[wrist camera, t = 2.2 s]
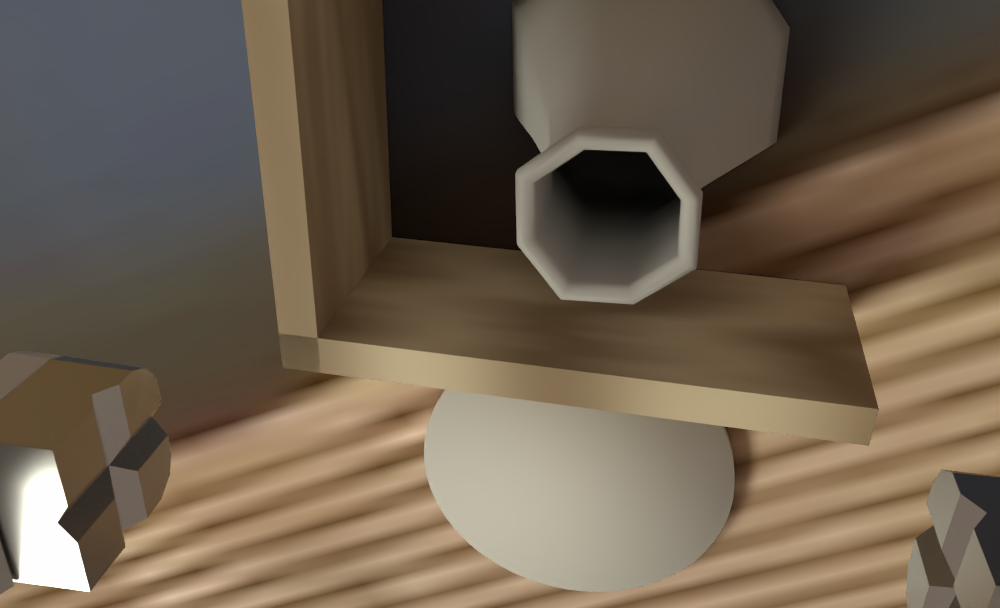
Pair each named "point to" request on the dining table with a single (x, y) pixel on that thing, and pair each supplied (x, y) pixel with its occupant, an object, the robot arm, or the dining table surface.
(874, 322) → the dining table surface
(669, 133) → the flask
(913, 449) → the dining table surface
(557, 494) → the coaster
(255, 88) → the u-shaped wooden frame
